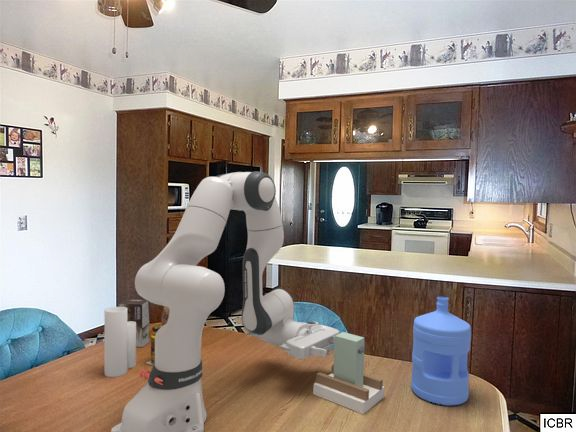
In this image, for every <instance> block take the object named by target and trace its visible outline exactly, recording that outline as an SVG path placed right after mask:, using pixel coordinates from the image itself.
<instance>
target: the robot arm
mask: <svg viewBox="0 0 576 432" xmlns="http://www.w3.org/2000/svg"><path fill="white" fill-rule="evenodd" d="M275 184H276V183H275V182H274V180H273V179H272V177H271V176H270V175H269V174H268V173H266V172H263V171H258V170H257V171H244V172H243V171H236V172H230V173H229V172H228V173H226V174H225V173H223V174H219V175H216V176H208V177H205V178H203V179H202V180H201V181H200V182H199V184H198V185H197V186H196V189H195V190H194V191H193V194H192V196H191V197H190V199H189V201H188V204H187V205H186V208H185V210H184V212H183V215H182V218H181V219H180V221H179V224H178V225H177V229H176V231H175V232H174V235H172V237H171V239H170V240H169V242H168V243H167V244H166V246H164V248H163V249H162V250H161V251H160V252H159V253H158V255H156V256H155V257H154V258H152V260H150V261H148V262H147V263H144V264H143V265H142V266H141V267H140V268H139V270H138V271H137V273H136V275H135V278H134V288H135V291H136V292H137V295H139V296H140V297H141V298H142V299H143V300H148V301H149V303H151V304H154V305H158V306H162V307H164V306H166V307H169V310H170V313H169V318H168V321H167V324H165V325H164V326H162V327H161V328H160V329H159V330H158V331H157V333H156V335H155V363H154V365H152V367H151V370H147V368H141V370H140V371H139V372H138V377H140V378H142V379H143V380H147V382H146V383H145V384H144V386H142V388H140V390H139V391H138V392H137V393H136V394H135V395H134V396H133V397H132V398H131V399H130V400H129V402H127V403H126V405H125V406H124V408H123V411H122V416H121V422H119V423H118V424H116V425H114V426H113V427H111V431H110V432H204V431H205V427H204V425H205V424H204V423H205V422H206V420H207V417H208V416H207V410H206V408H205V403H204V397H203V388H202V377H203V361H202V357H201V355H202V336H203V335H202V334H203V329H204V326H205V323H206V321H207V319H208V317H209V316H210V314H211V313H212V312H214V311H215V310H216V309H218V308H219V306H220V305H221V303H222V302H223V299H224V297H225V292H226V289H225V288H226V287H225V282H224V278H222V276H221V275H220V274H219V273H218V272H216V271H214V270H211V269H209V268H207V267H205V266H199V265H198V264H199V263H200V262H201V261H202V259H204V258H205V257H207V256H209V255H211V254H212V253H214V252H215V251H216V250H217V249H218V248H217V247H218V246H219V243H220V240H221V238H222V235H223V232H224V230H225V227H226V225H227V222H228V218H229V215H230V211H231V210H236V211H243V212H244V214H245V220H246V221H245V222H246V229H247V243H246V248H245V252H244V253H243V257H242V292H243V293H242V307H241V313H240V314H241V317H240V318H241V322H242V325H243V327H244V329H245V330H247V331H248V332H250V333H251V334H253V335H257V337H258V338H260V339H261V340H263V341H264V342H266V343H268V344H271V345H274V346H276V347H280V349H281V350H282V351H283V350H284V351H285V353H286V354H288V355H289V356H292V357H293V358H296V359H298V360H306V359H307V358H309V357H311V356H321V357H324V358H325V357H327V356H328V355H329V349H328V348H330V347H331V346H333V345H334V346H335V335H338V334H340V333H341V332H340V330H339V329H337V328H334V327H330V326H328V325H324V324H319V322H318V321H308V322H303V321H299V322H298V321H295V320H294V318H295V302H294V299H293V296H292V295H291V294H290V293H289V292H288V291H287V290H285V289H282V288H276V289H274V290H271V291H270V292H268V293H266V294H263V274H264V271H265V268H266V266H267V265H268V264H269V262H270V261H271V260H272V259H273V257H275V255H277V254H278V253H279V251H280V250H281V248H282V247H283V244H284V240H285V239H284V238H285V233H284V232H285V231H284V226H283V225H284V224H283V220H282V214H281V210H280V206H279V203H278V200H277V198H276V194H277V193H276V192H277V189H276V185H275Z"/></svg>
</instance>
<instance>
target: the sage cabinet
mask: <svg viewBox="0 0 576 432" xmlns="http://www.w3.org/2000/svg"><path fill="white" fill-rule="evenodd" d="M333 350H334V351H333V352H334V353H333V364H334V378H337V379H340V380H343V381H346V382H349V383H351V384H354V385H357V386H360V387H363V374H365V373H364V369H365V366H364V365H365V352H366V347H365V336H364V337H363V336H359V335H356V334H352V333H348V332H345V331H342V332H340V334H338V335H335V344H334V349H333Z"/></svg>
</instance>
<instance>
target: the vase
mask: <svg viewBox="0 0 576 432" xmlns="http://www.w3.org/2000/svg"><path fill="white" fill-rule="evenodd" d="M103 339H104V349H103V350H104V354H103V355H104V359H103V360H104V361H103V362H104V368H103V369H104V374H103V375H104V376H105V377H107V378H118V377H122V376H124V375H125V374H127V373H128V370H129V369H132V368H134V367H136V364H137V347H136V322H133V321H129V322H127V308H126V307H119V306H113V307H108V308H105V309H104V338H103Z"/></svg>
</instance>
